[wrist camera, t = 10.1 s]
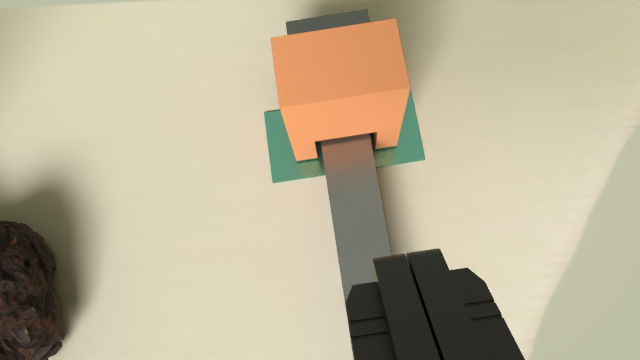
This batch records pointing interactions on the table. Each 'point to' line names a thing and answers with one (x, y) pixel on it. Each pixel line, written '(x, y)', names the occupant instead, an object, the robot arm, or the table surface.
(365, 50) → the sleeve
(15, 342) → the dark brown rough lump
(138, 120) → the table surface
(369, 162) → the bar
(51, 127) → the table surface
